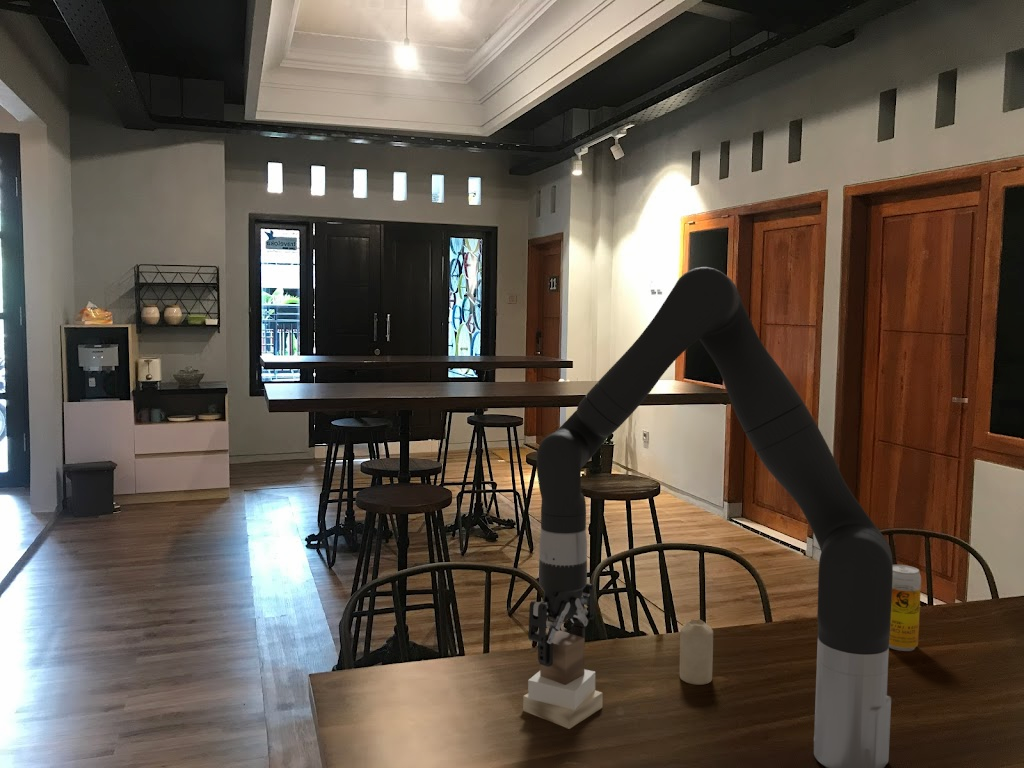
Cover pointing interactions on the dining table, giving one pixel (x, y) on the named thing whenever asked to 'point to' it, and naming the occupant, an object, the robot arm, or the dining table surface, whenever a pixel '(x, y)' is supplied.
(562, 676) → the walnut block
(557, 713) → the slab lower
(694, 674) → the candle
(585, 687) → the slab upper
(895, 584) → the beer can
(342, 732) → the dining table surface
